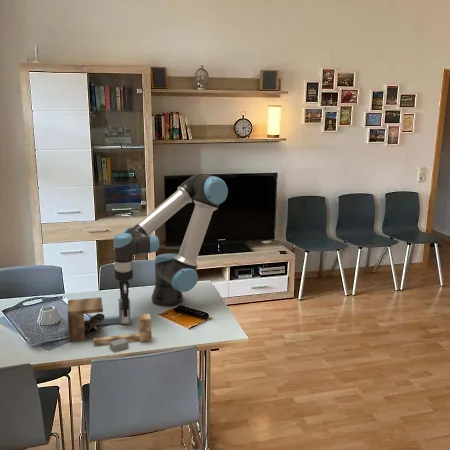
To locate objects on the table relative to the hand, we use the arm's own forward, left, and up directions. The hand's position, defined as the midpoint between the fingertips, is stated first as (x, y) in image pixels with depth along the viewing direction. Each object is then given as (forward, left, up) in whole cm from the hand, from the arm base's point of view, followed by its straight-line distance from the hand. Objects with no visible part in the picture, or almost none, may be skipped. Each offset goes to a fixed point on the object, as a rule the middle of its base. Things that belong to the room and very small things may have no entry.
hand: (124, 320), depth 216 cm
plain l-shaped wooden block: (+3, +18, -1) cm, 18 cm away
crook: (+9, +4, -1) cm, 10 cm away
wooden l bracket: (+16, +7, -1) cm, 18 cm away
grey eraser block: (+4, +23, -1) cm, 23 cm away
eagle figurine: (+13, +4, -1) cm, 14 cm away
